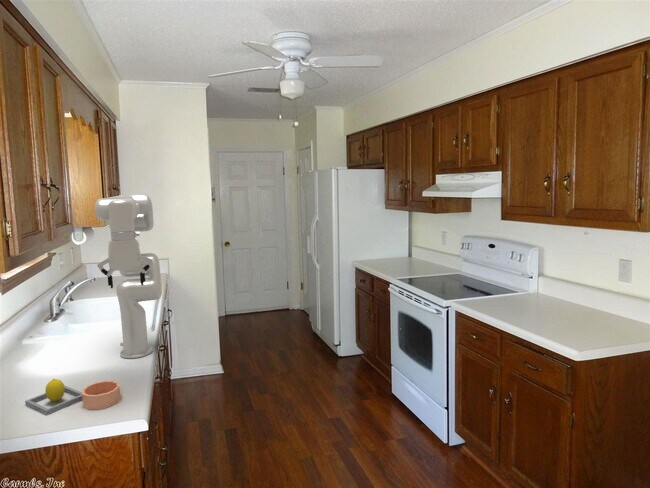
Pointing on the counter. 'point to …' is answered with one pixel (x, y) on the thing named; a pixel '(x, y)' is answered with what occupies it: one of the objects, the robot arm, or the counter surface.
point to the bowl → (101, 395)
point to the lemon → (55, 390)
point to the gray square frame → (50, 410)
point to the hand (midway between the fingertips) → (127, 285)
